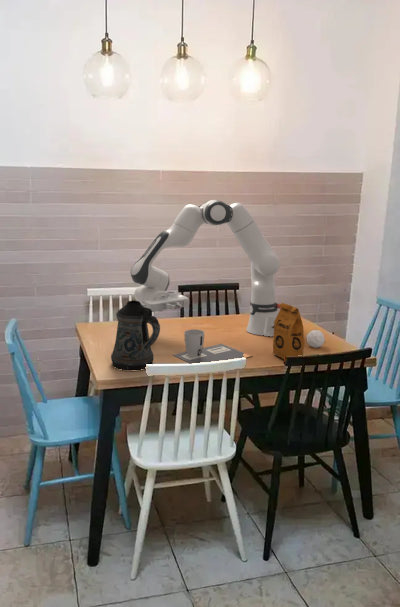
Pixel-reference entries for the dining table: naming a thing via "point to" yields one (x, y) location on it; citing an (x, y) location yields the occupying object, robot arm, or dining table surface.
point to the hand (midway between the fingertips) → (177, 307)
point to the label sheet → (212, 354)
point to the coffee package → (288, 332)
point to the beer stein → (134, 337)
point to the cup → (194, 342)
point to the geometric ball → (315, 338)
